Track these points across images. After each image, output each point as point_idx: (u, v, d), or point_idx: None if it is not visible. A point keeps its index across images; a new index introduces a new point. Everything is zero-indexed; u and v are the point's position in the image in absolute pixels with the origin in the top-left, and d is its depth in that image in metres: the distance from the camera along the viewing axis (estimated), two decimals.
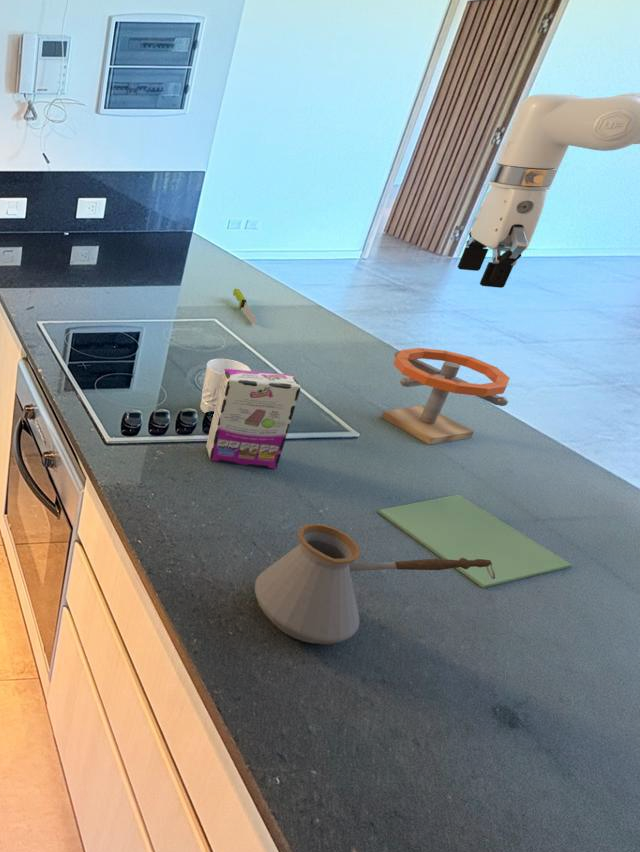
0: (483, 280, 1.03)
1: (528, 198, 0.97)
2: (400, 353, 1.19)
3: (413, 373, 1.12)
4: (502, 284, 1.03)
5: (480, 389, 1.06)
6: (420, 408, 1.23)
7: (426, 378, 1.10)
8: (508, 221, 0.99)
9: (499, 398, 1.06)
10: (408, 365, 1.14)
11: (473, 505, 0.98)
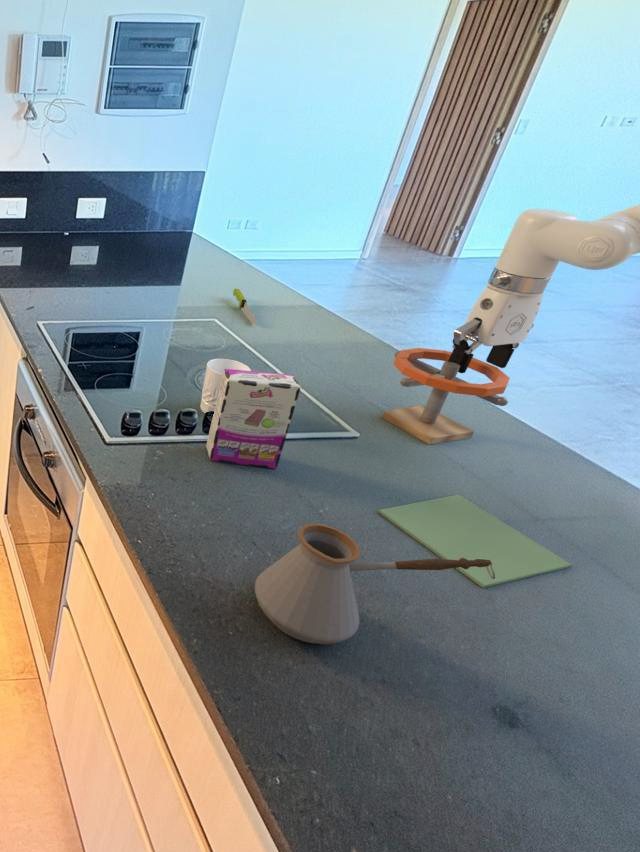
0: None
1: (490, 297, 1.08)
2: (400, 353, 1.19)
3: (413, 373, 1.12)
4: (461, 370, 1.14)
5: (480, 389, 1.06)
6: (420, 408, 1.23)
7: (426, 378, 1.10)
8: (474, 313, 1.11)
9: (499, 398, 1.06)
10: (408, 365, 1.14)
11: (473, 505, 0.98)
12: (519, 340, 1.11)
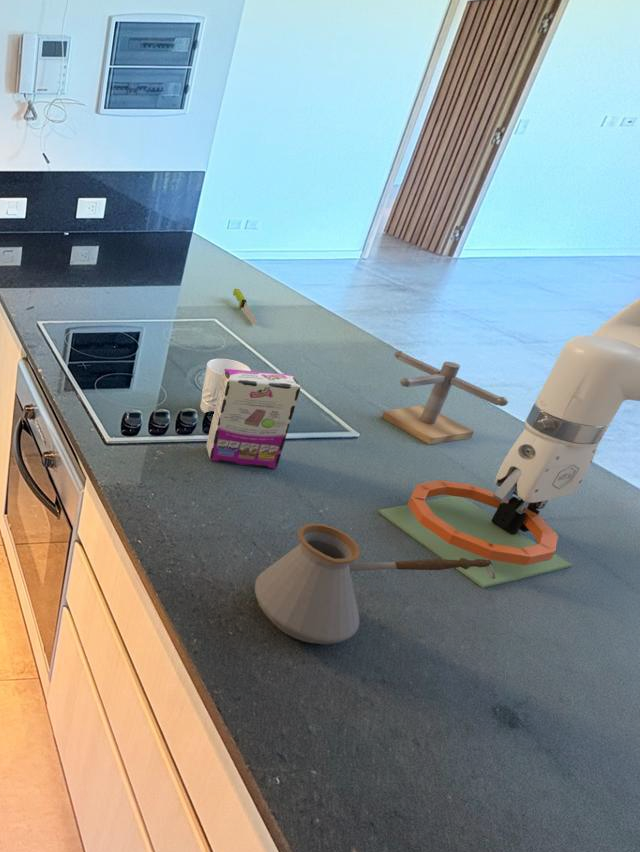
0: (494, 517, 0.94)
1: (531, 443, 0.85)
2: (416, 490, 0.95)
3: (434, 526, 0.89)
4: (512, 531, 0.91)
5: (521, 557, 0.83)
6: (420, 408, 1.23)
7: (451, 536, 0.86)
8: (510, 460, 0.88)
9: (499, 398, 1.06)
10: (427, 513, 0.90)
11: (473, 505, 0.98)
12: (569, 493, 0.88)
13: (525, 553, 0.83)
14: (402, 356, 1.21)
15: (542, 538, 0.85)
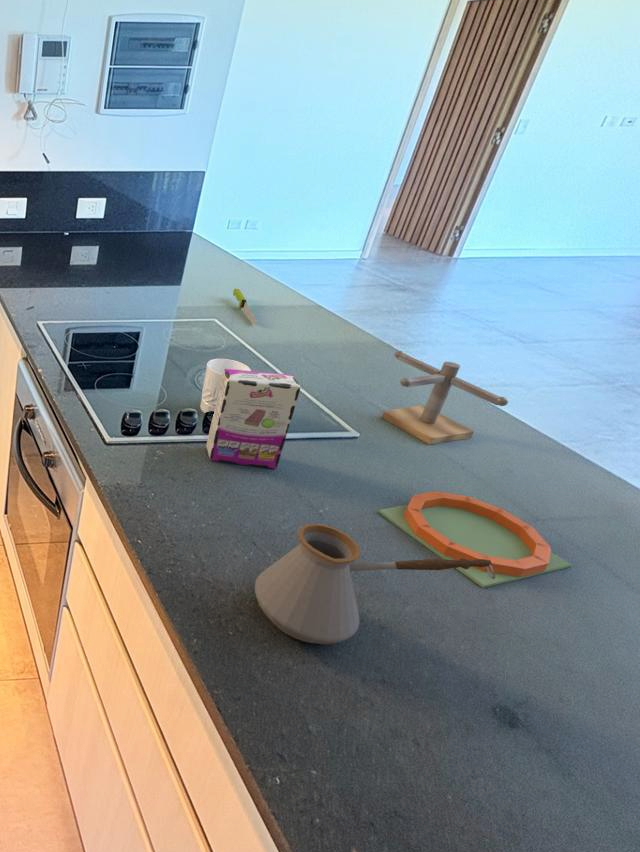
0: None
1: None
2: (412, 501, 0.96)
3: (429, 537, 0.90)
4: None
5: (515, 569, 0.84)
6: (420, 408, 1.23)
7: (446, 547, 0.87)
8: None
9: (499, 398, 1.06)
10: (423, 524, 0.91)
11: None
12: None
13: (519, 565, 0.84)
14: (402, 356, 1.21)
15: (536, 550, 0.86)
